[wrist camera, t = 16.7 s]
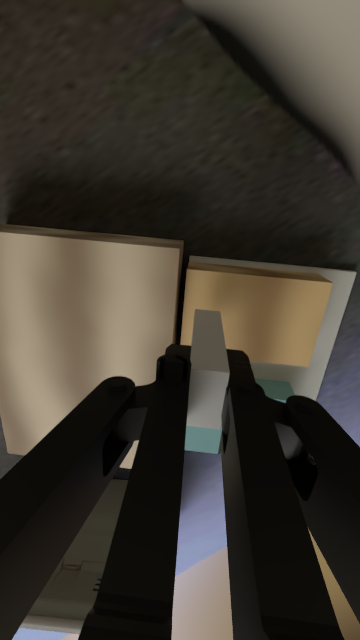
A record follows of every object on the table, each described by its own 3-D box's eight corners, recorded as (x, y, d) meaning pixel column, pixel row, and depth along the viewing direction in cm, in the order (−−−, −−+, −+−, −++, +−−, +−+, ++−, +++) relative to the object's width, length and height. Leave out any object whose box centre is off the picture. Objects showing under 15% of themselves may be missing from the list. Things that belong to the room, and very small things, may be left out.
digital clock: (30, 512, 33) (-44, 642, 23) (29, 456, 30) (-58, 581, 20) (167, 540, 33) (151, 683, 23) (182, 488, 30) (171, 629, 20)
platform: (34, 419, 28) (8, 453, 24) (5, 224, 21) (-38, 228, 17) (168, 436, 27) (162, 472, 23) (184, 240, 20) (179, 248, 16)
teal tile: (173, 426, 26) (171, 448, 24) (178, 370, 24) (176, 388, 21) (274, 438, 26) (281, 461, 23) (288, 382, 23) (298, 401, 21)
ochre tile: (182, 337, 22) (179, 353, 20) (188, 261, 20) (186, 269, 18) (297, 350, 22) (308, 367, 20) (318, 273, 20) (333, 282, 17)
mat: (173, 436, 27) (172, 440, 27) (189, 255, 20) (189, 256, 20) (296, 451, 26) (297, 456, 26) (353, 270, 20) (356, 272, 20)
